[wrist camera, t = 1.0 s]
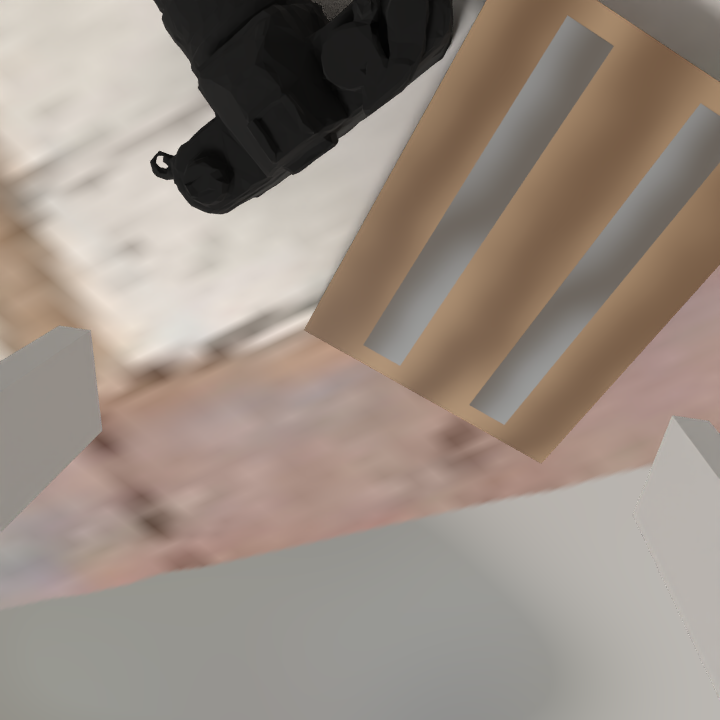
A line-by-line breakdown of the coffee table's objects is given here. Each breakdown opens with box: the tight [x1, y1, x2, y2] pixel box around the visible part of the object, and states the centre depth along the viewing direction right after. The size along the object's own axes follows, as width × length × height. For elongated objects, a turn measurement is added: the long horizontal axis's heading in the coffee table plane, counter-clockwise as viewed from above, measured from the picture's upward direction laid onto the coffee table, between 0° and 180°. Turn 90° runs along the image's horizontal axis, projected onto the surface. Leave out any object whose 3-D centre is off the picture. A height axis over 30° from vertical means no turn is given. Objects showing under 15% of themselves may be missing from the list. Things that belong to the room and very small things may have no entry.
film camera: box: [150, 0, 453, 214], centre depth 25 cm, size 15×10×9 cm, turn 124°
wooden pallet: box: [304, 0, 720, 463], centre depth 30 cm, size 16×20×3 cm
